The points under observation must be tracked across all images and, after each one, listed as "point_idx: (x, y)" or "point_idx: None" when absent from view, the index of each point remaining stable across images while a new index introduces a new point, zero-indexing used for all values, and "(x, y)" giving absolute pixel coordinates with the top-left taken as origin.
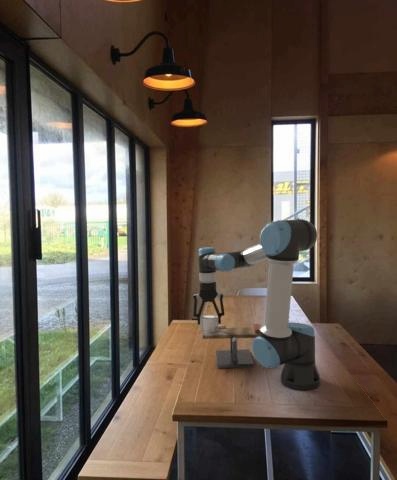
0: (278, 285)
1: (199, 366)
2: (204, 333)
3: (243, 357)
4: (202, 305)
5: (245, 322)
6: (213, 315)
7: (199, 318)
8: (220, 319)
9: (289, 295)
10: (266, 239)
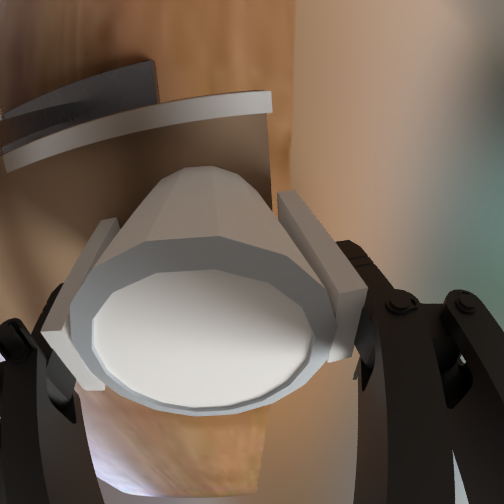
0: None
1: (254, 82)
2: (244, 93)
3: None
4: None
5: (157, 448)
6: (152, 406)
7: (366, 296)
8: (38, 322)
9: None
10: None
